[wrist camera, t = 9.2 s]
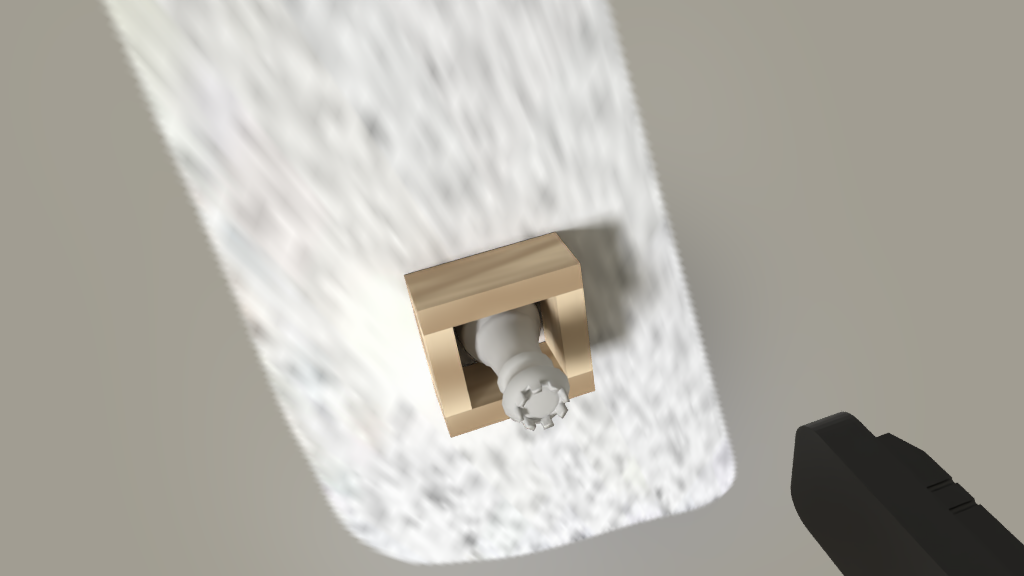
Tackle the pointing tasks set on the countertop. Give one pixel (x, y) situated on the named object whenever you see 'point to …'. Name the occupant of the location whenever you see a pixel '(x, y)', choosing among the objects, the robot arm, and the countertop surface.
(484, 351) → the rook chess piece
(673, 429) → the countertop surface
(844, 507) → the robot arm
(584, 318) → the socket block
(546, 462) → the countertop surface
